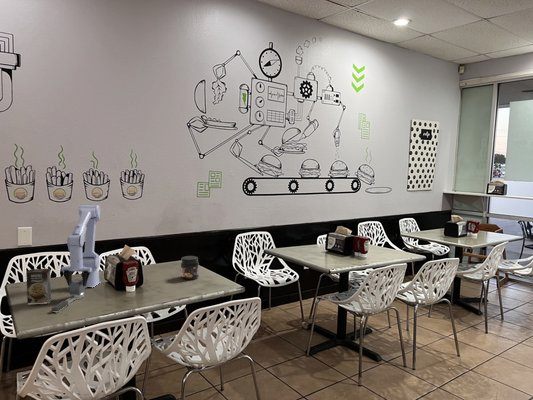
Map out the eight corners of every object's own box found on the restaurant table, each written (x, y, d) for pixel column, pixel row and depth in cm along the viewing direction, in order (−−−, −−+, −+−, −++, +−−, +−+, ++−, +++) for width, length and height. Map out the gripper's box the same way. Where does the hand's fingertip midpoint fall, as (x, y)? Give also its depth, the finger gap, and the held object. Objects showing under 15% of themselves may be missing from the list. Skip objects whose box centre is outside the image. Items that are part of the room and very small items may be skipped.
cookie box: (27, 306, 193) (25, 272, 191) (30, 301, 199) (29, 268, 197) (48, 304, 195) (47, 271, 193) (51, 299, 201) (50, 267, 199)
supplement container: (177, 279, 237) (177, 259, 236) (185, 274, 247) (185, 254, 246) (193, 281, 234) (193, 260, 233) (201, 276, 244) (201, 256, 243)
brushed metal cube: (75, 291, 207) (74, 279, 206) (84, 291, 207) (84, 279, 206) (69, 294, 202) (69, 282, 201) (79, 294, 202) (79, 282, 201)
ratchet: (74, 295, 208) (74, 284, 207) (86, 295, 208) (86, 285, 207) (48, 312, 185) (47, 300, 185) (61, 313, 185) (60, 301, 184)
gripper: (57, 260, 199) (58, 287, 201) (86, 261, 198) (87, 288, 200) (65, 256, 206) (66, 282, 208) (93, 257, 205) (94, 284, 207)
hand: (77, 285), depth 204 cm, fingers open, 7 cm apart
